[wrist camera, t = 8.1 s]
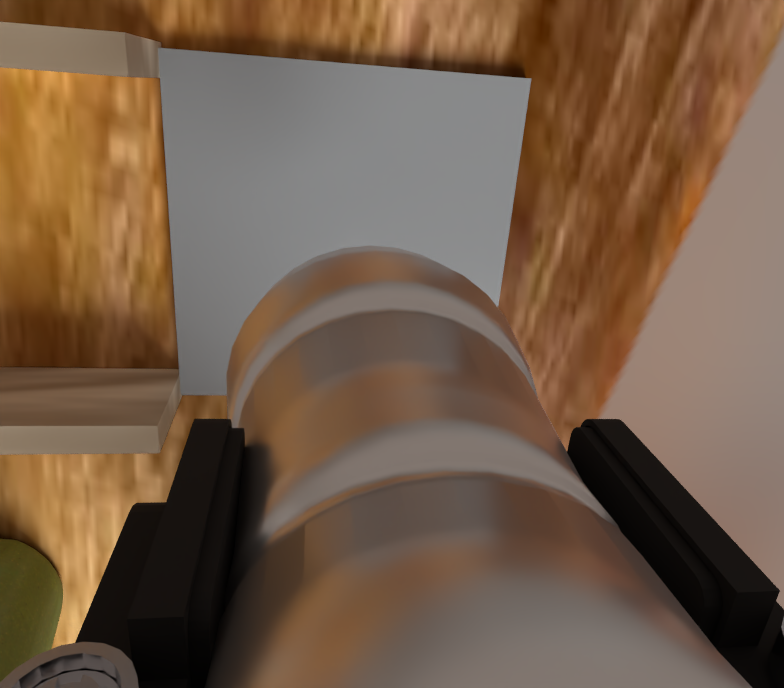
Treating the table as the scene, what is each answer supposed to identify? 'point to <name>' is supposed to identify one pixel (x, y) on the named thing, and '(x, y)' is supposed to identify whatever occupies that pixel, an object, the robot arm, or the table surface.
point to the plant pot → (26, 604)
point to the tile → (324, 179)
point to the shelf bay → (83, 385)
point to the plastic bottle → (422, 505)
